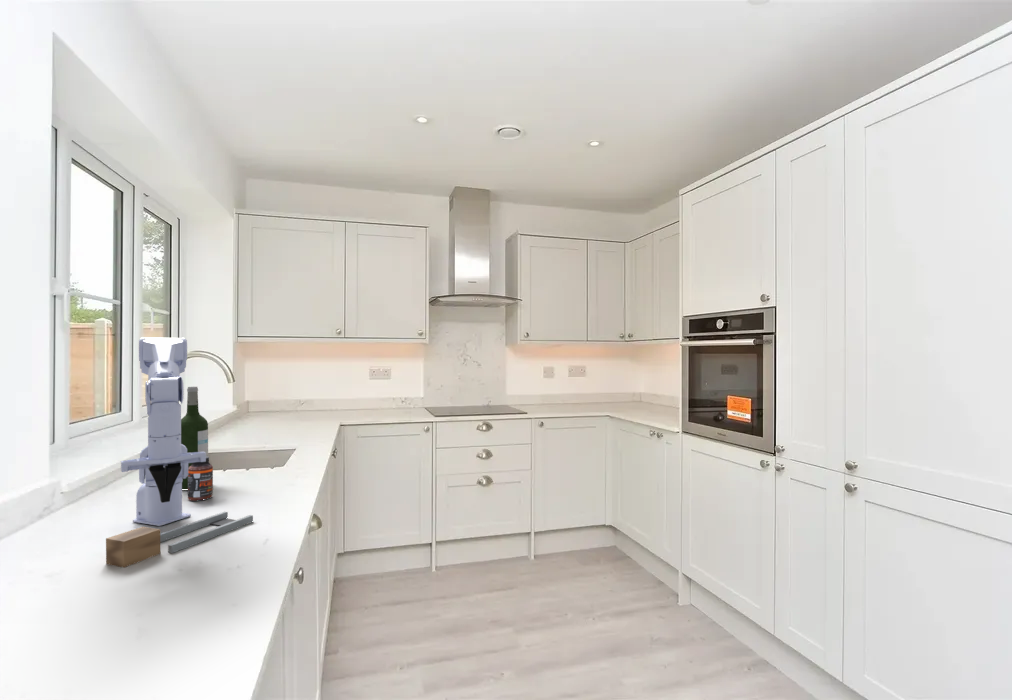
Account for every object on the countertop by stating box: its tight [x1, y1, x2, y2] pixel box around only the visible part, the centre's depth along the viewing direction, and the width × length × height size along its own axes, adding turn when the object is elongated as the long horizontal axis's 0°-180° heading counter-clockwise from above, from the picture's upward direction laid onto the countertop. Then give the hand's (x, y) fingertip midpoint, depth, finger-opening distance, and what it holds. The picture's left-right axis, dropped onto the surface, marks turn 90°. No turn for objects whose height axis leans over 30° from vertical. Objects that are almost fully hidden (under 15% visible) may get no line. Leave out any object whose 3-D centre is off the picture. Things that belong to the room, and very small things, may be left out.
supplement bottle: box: [187, 456, 214, 502], centre depth 141 cm, size 6×6×11 cm
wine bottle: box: [181, 386, 209, 489], centre depth 153 cm, size 8×8×30 cm
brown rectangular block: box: [105, 526, 161, 568], centre depth 100 cm, size 5×7×5 cm
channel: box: [160, 511, 254, 554], centre depth 114 cm, size 9×20×2 cm, turn 160°
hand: (165, 501), depth 106 cm, fingers closed
